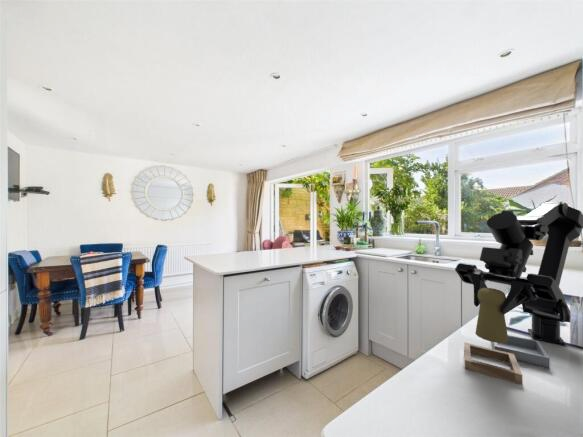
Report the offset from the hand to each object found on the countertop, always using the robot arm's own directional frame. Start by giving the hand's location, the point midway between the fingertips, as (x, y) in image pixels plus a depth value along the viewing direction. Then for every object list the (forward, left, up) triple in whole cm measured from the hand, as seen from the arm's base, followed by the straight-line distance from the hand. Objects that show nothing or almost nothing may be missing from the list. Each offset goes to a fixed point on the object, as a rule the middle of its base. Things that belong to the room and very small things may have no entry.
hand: (488, 309), depth 57 cm
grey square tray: (-11, +7, -13) cm, 19 cm away
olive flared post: (-1, +1, -7) cm, 7 cm away
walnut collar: (-1, 0, -13) cm, 13 cm away
